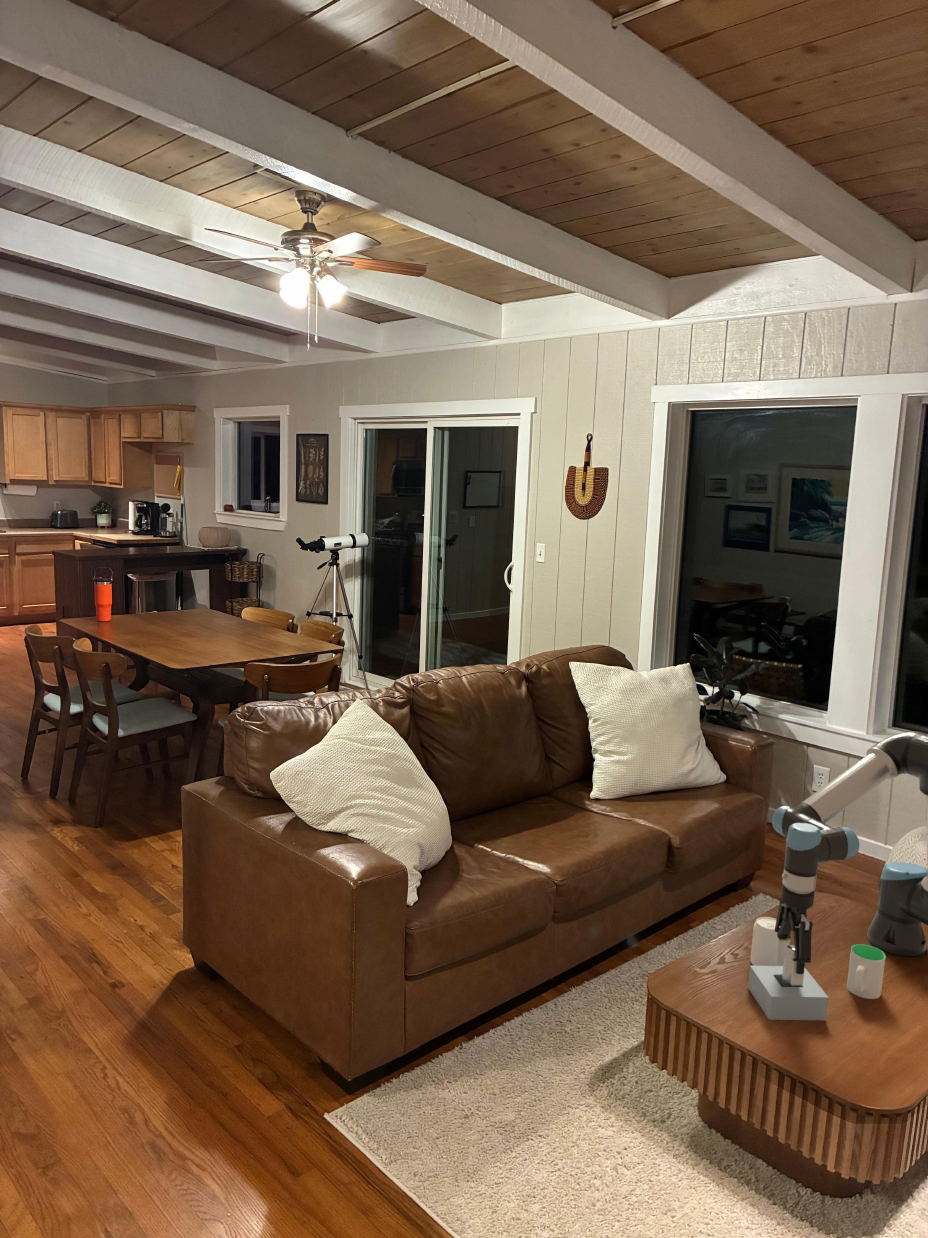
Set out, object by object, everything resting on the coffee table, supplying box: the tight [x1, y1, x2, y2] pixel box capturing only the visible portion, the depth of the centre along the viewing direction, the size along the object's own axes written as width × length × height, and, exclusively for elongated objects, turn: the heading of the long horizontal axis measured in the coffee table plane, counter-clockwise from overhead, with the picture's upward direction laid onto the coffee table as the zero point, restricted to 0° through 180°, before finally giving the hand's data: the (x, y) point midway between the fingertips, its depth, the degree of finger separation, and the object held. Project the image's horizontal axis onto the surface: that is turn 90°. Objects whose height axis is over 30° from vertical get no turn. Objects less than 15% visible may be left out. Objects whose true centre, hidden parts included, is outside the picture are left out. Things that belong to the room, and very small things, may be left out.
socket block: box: [747, 965, 829, 1021], centre depth 224 cm, size 14×14×6 cm
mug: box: [846, 943, 887, 1000], centre depth 230 cm, size 12×8×10 cm, turn 145°
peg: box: [780, 944, 798, 987], centre depth 224 cm, size 4×4×14 cm
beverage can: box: [749, 916, 783, 966], centre depth 242 cm, size 8×8×12 cm
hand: (788, 974), depth 224 cm, fingers open, 8 cm apart
